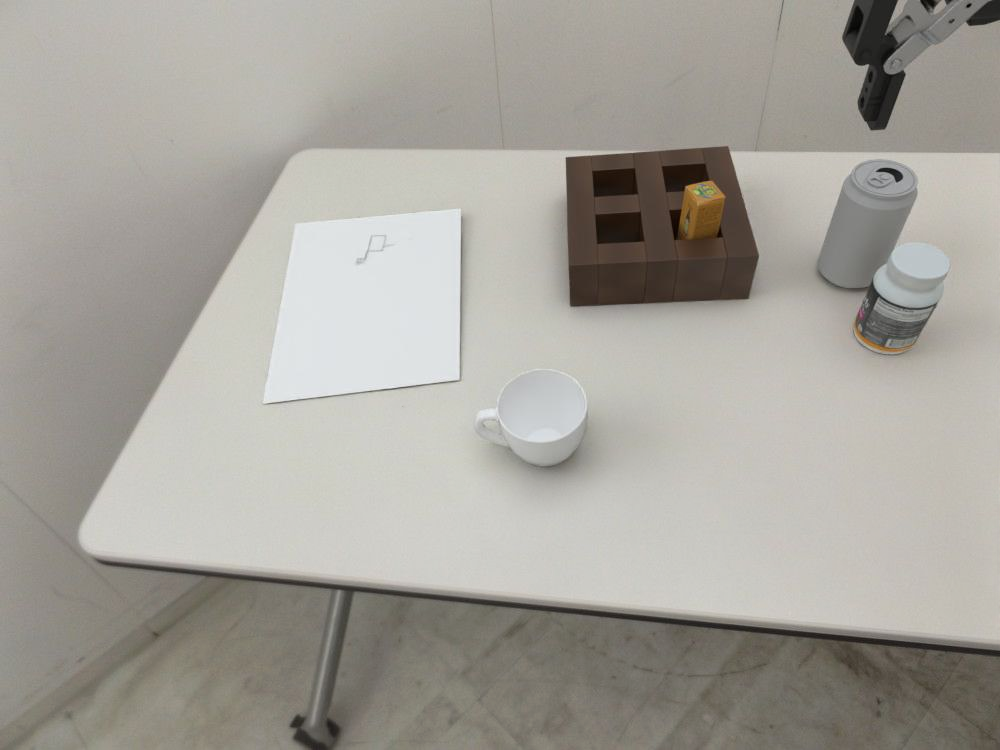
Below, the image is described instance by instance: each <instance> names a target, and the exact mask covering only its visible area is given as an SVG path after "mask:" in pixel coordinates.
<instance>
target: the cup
mask: <svg viewBox="0 0 1000 750" xmlns="http://www.w3.org/2000/svg"><path fill="white" fill-rule="evenodd" d="M588 403H589V401H588V396H587V393H586V391H585V389H584V387H583V386H582V385H581V383H580V382H579V380H577V379H576V378H574V377H573V376H572V375H570V374H568V373H566V372H564V371H561V370H558V369H554V368H533V369H530V370H525V371H523V372H521V373H518V374H517V375H515V376H513V377H512V378H511V379H510V380H508V381H507V382H506V383H505V384H504V385H503V387H501V390H500V392H499V393H498V396H497V398H496V403H495V404H496V405H495V407H489V408H484V409H481V410H479V411H477V412H476V413H475V415H474V418H473V428H474V431H475V433H476V434H477V435H478V436H479V437H480V438H482V439H483V440H485V441H487V442H489V443H492V444H495V445H498V446H501V447H508V448H509V449H510V450H511V451H512V452H513V453H514V454H515V455H516V456H517V457H518V458H520V459H521V460H522V461H524V462H526V463H528V464H531V465H534V466H536V467H537V466H538V467H551V466H555V465H559V464H561V463H563V462H565V461H566V460H567V459H568V458H570V457H571V456H572V455H573V454H574V453H575V452H576V451H577V449H578V448H579V446H580V445H581V443H582V442H583V439H584V436H585V434H586V431H587V426H588V418H589V416H588V415H589V406H588ZM489 421H491V422H493V421H494V422H496V423H497V424H498V427H499V428H500V432H501V433H500V432H498V431H495V430H493V429H491V428H490V427H488V426H486V425H485V422H489Z"/></svg>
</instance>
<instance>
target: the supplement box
mask: <svg viewBox="0 0 1000 750" xmlns="http://www.w3.org/2000/svg"><path fill="white" fill-rule="evenodd" d="M725 198H726V197H725V195H724V194H723V193H722V192H721V191H720V189H719V188H718V187H717V186H716V185H715V183H714V182H713V181H706V182H701V183H696V184H692V185H688V186H686V187H685V192H684V199H683V205H682V211H681V217H680V223H679V229H678V235H677V240H685V239H704V238H717V236H718V232H719V226H720V222H721V216H722V211H723V206H724V201H725Z"/></svg>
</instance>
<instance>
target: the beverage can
mask: <svg viewBox="0 0 1000 750" xmlns="http://www.w3.org/2000/svg"><path fill="white" fill-rule="evenodd" d="M918 185H919V178H918V176H917V174H916V172H915V171H914V170H913V169H912V168H910V167H909V166H907V165H906V164H903V163H901V162H898V161H895V160H890V159H883V158H882V159H880V158H879V159H877V158H875V159H869V160H865V161H861V162H860V163H858V164H856V165H855V166H854V167H853V168H852V170H851V173H850V174H848V175H847V176H846V177H845V179H844V181H843V184H842V186H841V189H840V192H839V195H838V198H837V201H836V205H835V207H834V209H833V213H832V216H831V219H830V221H829V225H828V227H827V230H826V234H825V237H824V240H823V242H822V246H821V249H820V251H819V255H818V258H817V262H816V264H817V268H818V271H819V273H820V274H821V275H822V276H823V277H824V278H825V279H826V280H827V281H828V282H829V283H831V284H833V285H835V286H837V287H840V288H846V289H861V288H866V287H869V286H870V284H871V282H872V279H873V276H874V275H875V273H876V272H877V271H878V269H879V268H880V267H882V266H883V265H885V264H887V262H888V259H889V257H890V255H891V253H892V251H893V250H894V249H895V248H896V246H897V243H898V241H899V238H900V237H901V234H902V231H903V230H904V227H905V225H906V223H907V222H908V221H907V220H908V219H909V216H910V214H911V211H912V210H913V207H914V205H915V203H916V200H917V198H918V194H919V192H918V188H917V186H918Z"/></svg>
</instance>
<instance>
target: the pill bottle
mask: <svg viewBox="0 0 1000 750" xmlns="http://www.w3.org/2000/svg"><path fill="white" fill-rule="evenodd" d="M950 270H951V259H950V257H949V256H948V255H947V254H946V253H945V251H943V250H942V249H941V248H939V247H937V246H935V245H933V244H930V243H927V242H920V241H909V242H903V243H901V244H899V245H898V246H897V245H896V246H895V248H894V250H893V251H892V253H891V255H890V257H889V259H888V262H887V264H885V265H883V266H882V267H880V268H879V269H878V271H877V272H876V273H875V275H874V276H873V279H872V282H871V284H870V286H868V288H867V291H866V293H865V296H864V298H863V300H862V302H861V305H860V307H859V308H858V310H857V311H858V312H857V314H856V316H855V318H854V321H853V324H852V325H853V328H852V330H853V334H854V336H855V338H856V340H857V341H858V342H859V343H860V344H861V345H862V346H863V347H865V348H866V349H868V350H870V351H872V352H874V353H878V354H883V355H898V354H899V355H900V354H903V353H905V352H907V351H909V350H910V349H912V348H913V346H914V345H916V343H917V342H918V340H919V338H920V336H921V335H922V333H923V332H924V329H925V328H926V327H927V324H928V322H929V320H930V319H931V317H932V315H933V314H934V311H935V310H936V308H937V307H938V305H939V303H940V301H941V300H942V298H943V295H944V292H945V279H946V278H947V276H948V274H949V272H950Z"/></svg>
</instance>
